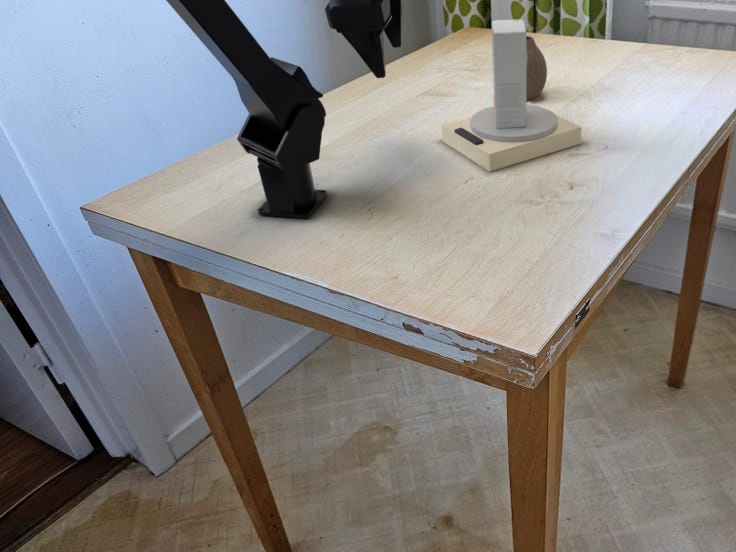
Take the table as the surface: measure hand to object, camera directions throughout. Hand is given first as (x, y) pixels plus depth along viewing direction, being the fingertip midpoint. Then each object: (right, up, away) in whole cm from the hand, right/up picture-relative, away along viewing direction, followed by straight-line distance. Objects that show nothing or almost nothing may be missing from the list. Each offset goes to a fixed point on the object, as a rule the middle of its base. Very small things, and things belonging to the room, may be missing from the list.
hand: (389, 61), depth 82 cm
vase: (+18, +6, +26) cm, 32 cm away
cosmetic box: (+15, -4, +9) cm, 18 cm away
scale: (+15, -6, +11) cm, 20 cm away
